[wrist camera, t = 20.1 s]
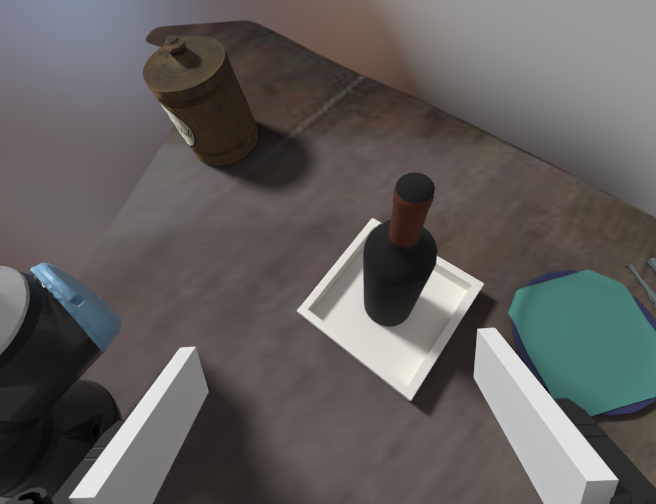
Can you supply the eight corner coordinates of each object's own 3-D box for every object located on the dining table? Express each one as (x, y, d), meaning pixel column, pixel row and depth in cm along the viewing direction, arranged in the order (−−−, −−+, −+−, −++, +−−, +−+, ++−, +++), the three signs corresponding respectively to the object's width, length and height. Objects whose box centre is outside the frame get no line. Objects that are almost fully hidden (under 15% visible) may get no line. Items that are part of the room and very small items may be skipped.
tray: (407, 400, 44) (410, 400, 41) (301, 316, 51) (296, 310, 48) (476, 290, 50) (483, 283, 47) (371, 228, 56) (372, 217, 53)
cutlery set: (482, 293, 50) (488, 288, 48) (660, 244, 50) (673, 237, 48) (551, 433, 41) (562, 435, 39) (763, 371, 42) (784, 370, 40)
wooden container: (192, 126, 73) (127, 24, 53) (253, 109, 73) (212, 1, 53) (196, 174, 66) (125, 79, 47) (264, 156, 67) (221, 53, 47)
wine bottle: (354, 296, 51) (342, 179, 24) (392, 271, 52) (422, 132, 25) (382, 336, 47) (406, 254, 20) (422, 309, 49) (494, 196, 22)
